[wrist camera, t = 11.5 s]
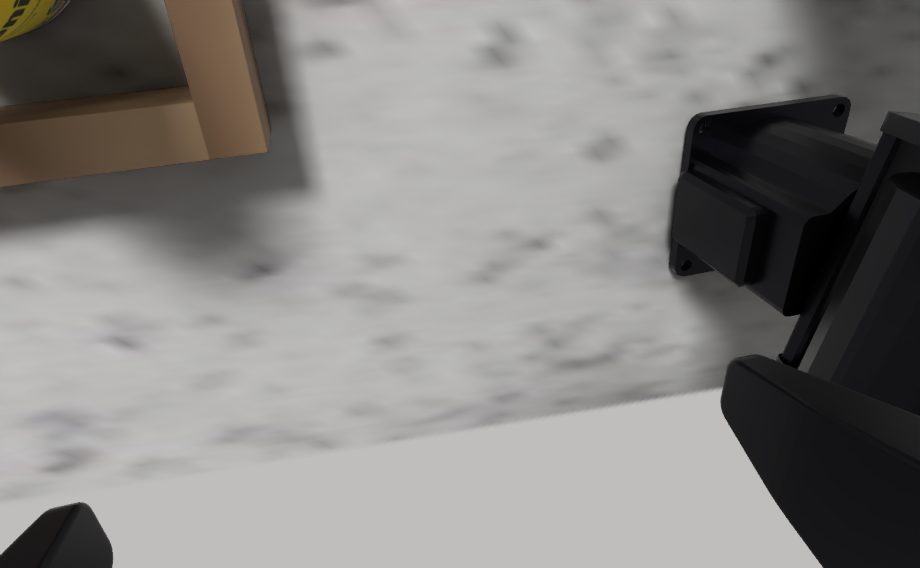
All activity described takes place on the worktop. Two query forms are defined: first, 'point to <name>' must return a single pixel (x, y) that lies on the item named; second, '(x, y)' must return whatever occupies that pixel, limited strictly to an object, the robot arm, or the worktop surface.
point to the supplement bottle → (26, 15)
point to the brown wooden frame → (150, 110)
